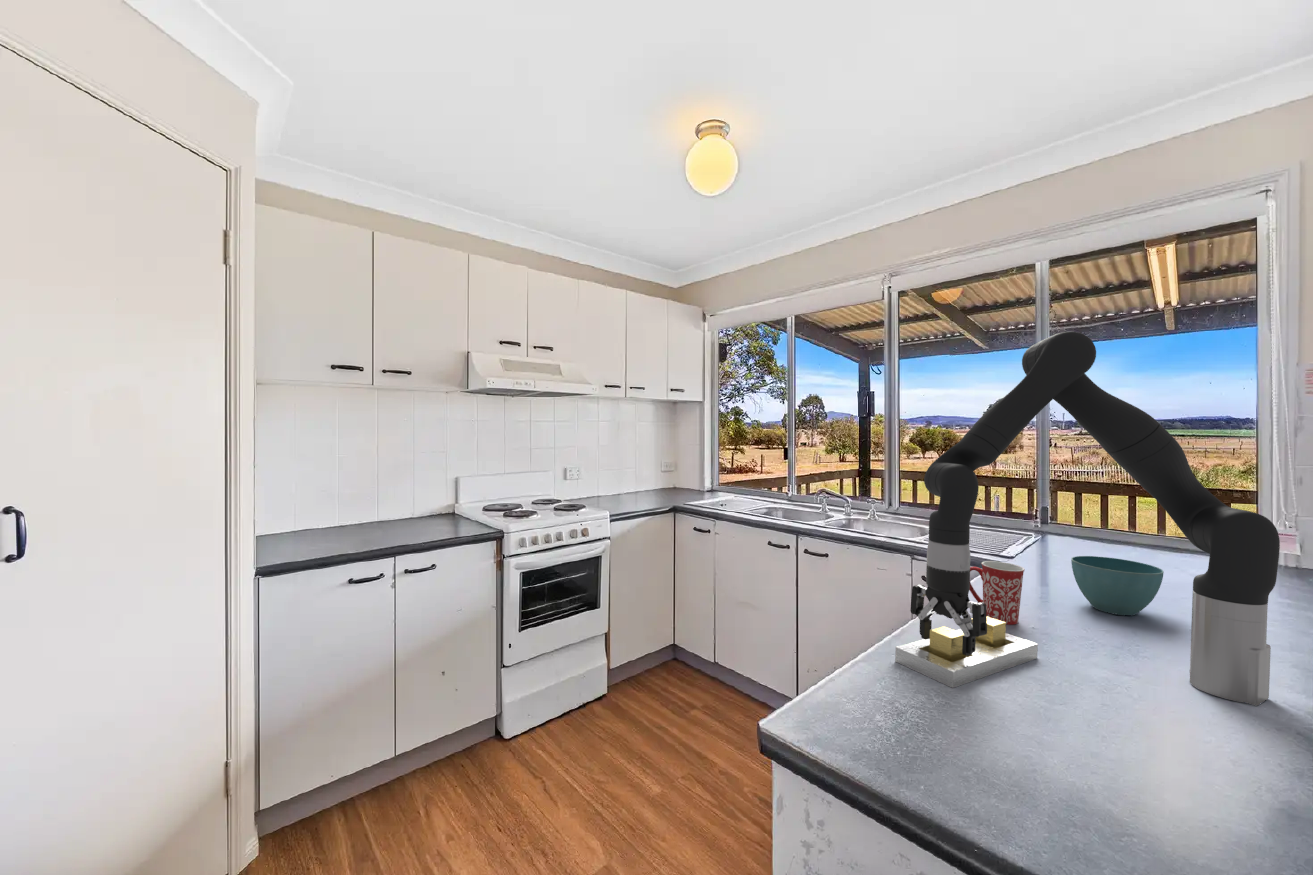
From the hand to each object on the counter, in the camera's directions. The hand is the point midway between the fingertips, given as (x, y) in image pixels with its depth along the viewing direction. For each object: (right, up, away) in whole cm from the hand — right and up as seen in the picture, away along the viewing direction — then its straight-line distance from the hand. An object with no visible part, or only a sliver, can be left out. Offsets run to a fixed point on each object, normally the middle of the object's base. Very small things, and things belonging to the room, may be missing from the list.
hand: (946, 646), depth 104 cm
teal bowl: (+63, -5, +35) cm, 72 cm away
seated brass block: (+12, -4, +7) cm, 15 cm away
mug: (+27, -4, +28) cm, 39 cm away
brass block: (0, -4, 0) cm, 4 cm away
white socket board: (+6, -4, +3) cm, 8 cm away
